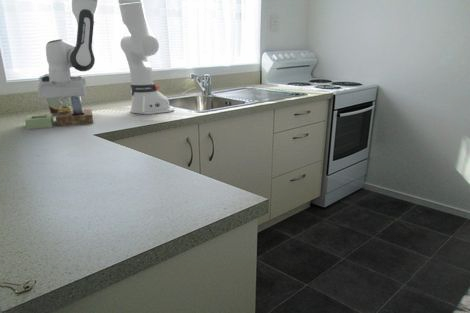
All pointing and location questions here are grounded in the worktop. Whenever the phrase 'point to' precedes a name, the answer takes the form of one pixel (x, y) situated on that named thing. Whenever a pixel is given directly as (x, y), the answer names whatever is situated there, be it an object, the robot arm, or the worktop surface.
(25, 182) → the worktop surface
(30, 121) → the square ring
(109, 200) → the worktop surface
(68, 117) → the socket block
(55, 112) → the food container
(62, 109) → the yellow square block
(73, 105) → the peg
